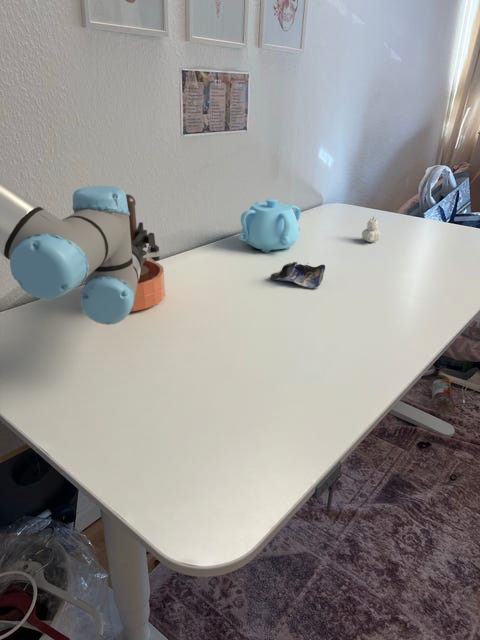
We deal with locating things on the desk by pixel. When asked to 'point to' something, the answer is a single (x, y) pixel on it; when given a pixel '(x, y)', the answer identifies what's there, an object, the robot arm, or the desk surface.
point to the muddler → (133, 229)
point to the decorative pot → (270, 225)
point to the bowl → (150, 287)
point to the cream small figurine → (371, 231)
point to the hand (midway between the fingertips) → (133, 228)
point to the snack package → (301, 274)
